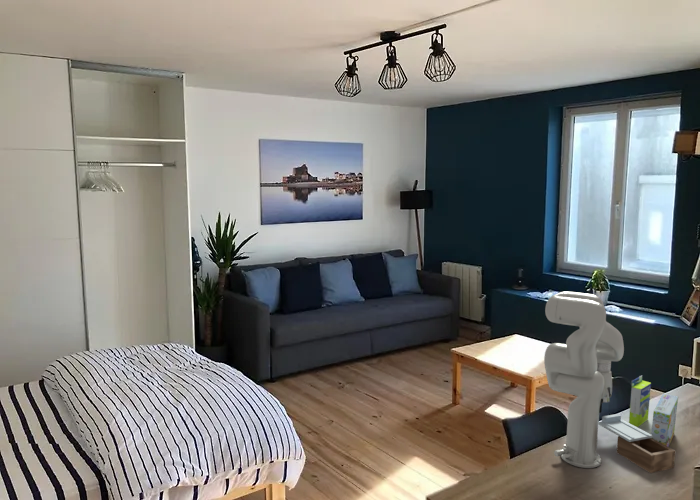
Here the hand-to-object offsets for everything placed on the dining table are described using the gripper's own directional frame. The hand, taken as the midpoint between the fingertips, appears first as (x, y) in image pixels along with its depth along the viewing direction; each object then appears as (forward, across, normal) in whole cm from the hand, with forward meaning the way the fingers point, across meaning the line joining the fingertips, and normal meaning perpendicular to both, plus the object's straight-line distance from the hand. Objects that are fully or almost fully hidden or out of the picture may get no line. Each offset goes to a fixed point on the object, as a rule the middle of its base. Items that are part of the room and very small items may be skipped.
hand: (596, 412), depth 207 cm
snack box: (+8, +15, +16) cm, 23 cm away
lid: (+1, +14, 0) cm, 14 cm away
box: (+8, -1, +22) cm, 23 cm away
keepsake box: (+7, +23, 0) cm, 24 cm away
